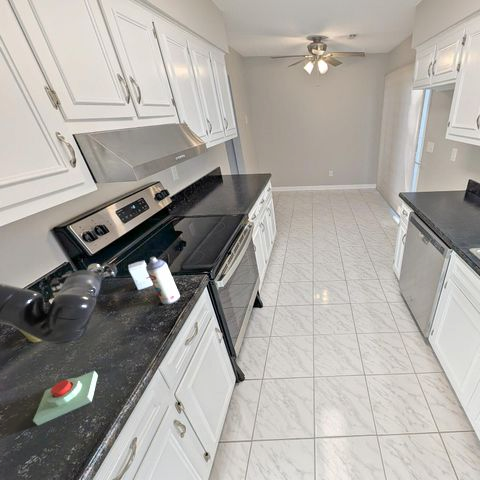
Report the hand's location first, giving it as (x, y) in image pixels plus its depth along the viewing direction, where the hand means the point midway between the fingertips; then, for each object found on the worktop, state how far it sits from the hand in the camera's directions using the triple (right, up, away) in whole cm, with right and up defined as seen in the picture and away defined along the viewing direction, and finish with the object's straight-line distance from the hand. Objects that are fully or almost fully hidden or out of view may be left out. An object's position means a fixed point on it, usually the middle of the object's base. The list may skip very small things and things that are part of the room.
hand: (89, 269), depth 80 cm
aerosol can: (+12, -15, +25) cm, 31 cm away
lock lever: (-9, -7, +9) cm, 14 cm away
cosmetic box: (-4, -12, +33) cm, 35 cm away
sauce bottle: (-24, -26, +10) cm, 37 cm away
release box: (+4, -34, -10) cm, 36 cm away
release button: (+4, -31, -12) cm, 34 cm away
